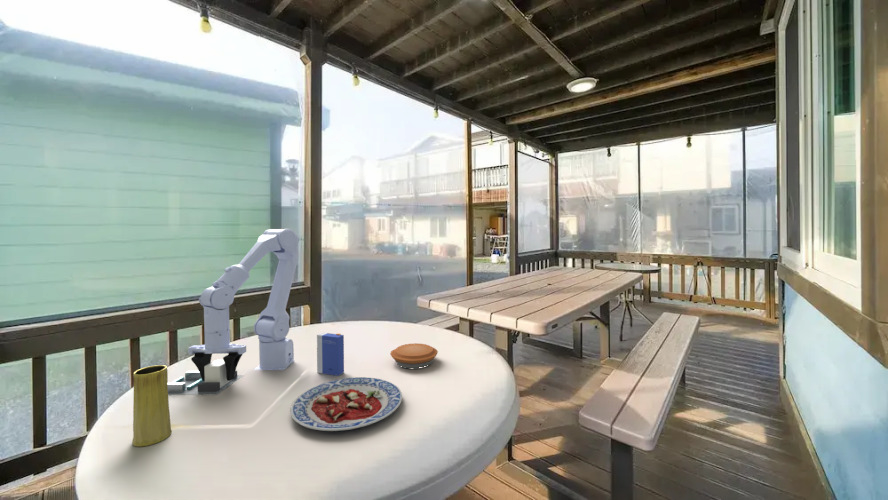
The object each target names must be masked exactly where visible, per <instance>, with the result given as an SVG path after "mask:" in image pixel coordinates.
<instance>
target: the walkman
mask: <svg viewBox="0 0 888 500" xmlns="http://www.w3.org/2000/svg"><path fill="white" fill-rule="evenodd" d="M344 340H345V339H344V334H341V333H340V332H339V333H330V332H320V333H318V334H316V373H319V374H324V375H330V376H331V375H332V376H338V377H340V375H342V374H344V373H345V353H344V352H345V346H344V345H345V341H344Z"/></svg>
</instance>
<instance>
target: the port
mask: <svg viewBox="0 0 888 500" xmlns="http://www.w3.org/2000/svg"><path fill="white" fill-rule="evenodd" d="M184 378H185V380H191V379H199V380H198V381H196V382H194V383H192V384H191V385H189V386H187V390H190V389H192V388H194V387H195V386H197V385H198V384H199V383H201V382H203V380H202V378H201V375H200V372H199V370H187V371H186V372H184V376H180V377H178V378H176V379H175V380H173V381H171V382H168V392H183V391H185V390H186V382H182V383H179V382H181V381H182V380H184Z"/></svg>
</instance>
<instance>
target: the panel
mask: <svg viewBox="0 0 888 500" xmlns="http://www.w3.org/2000/svg"><path fill="white" fill-rule="evenodd" d="M243 377H244V375H242V374H241V375H240V374H239V375H238V374H237V378H236V379H231V381H230V382H228V383H227V384H225V385H224V386H223V387H221V388H220V390H219V391H217V392H198V385H197V386H195V387H194V388H192V389H190V390H187V386H189V385H191V384H192V383H194V382H196V381H198V380H199V379H191V380H185V377H184V380H182V381H181V382H179V383H182V382H186V390H185V391H183V392H168V396H173V395H174V396H185V395H187V396H188V395H193V396H194V395H197V396H198V395H199V396H200V395H211V396H213V395H219V394H220V393H221V392H223V391H224V390H226V389H227V388H228V387H229V386H232V384H234V383H236V382H237V381H238V380H239V379H241V378H243ZM203 382H205V381H203Z"/></svg>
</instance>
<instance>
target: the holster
mask: <svg viewBox="0 0 888 500" xmlns="http://www.w3.org/2000/svg"><path fill="white" fill-rule="evenodd" d="M237 375H238V370H235V375H234V378H233V379H236V378H237ZM219 390H220V382H201V383H199V384H198V392H217V391H219Z"/></svg>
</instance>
